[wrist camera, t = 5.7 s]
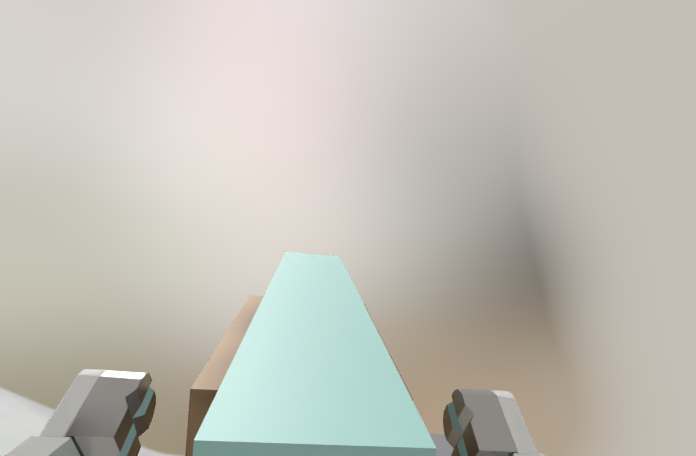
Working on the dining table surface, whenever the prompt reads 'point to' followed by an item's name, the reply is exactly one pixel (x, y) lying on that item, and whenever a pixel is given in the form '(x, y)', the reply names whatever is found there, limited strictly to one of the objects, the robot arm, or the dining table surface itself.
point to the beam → (312, 376)
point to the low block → (441, 445)
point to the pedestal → (223, 369)
